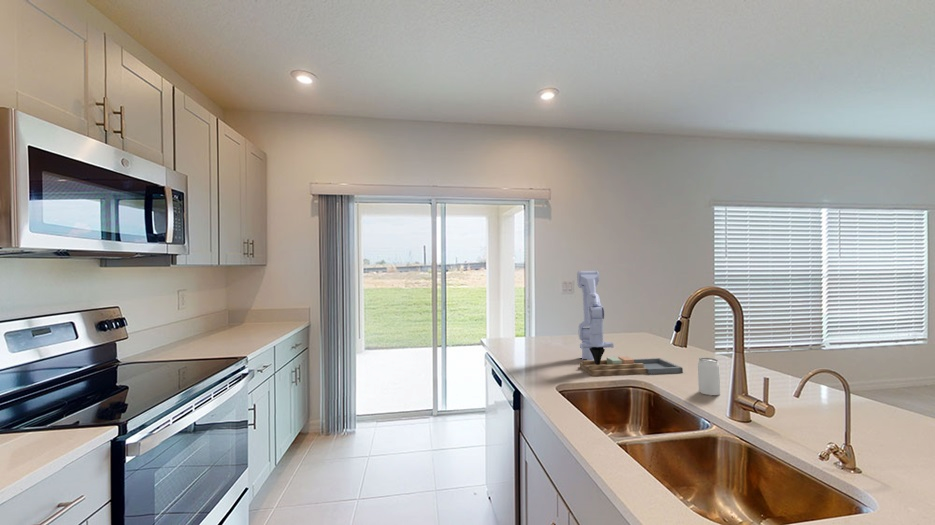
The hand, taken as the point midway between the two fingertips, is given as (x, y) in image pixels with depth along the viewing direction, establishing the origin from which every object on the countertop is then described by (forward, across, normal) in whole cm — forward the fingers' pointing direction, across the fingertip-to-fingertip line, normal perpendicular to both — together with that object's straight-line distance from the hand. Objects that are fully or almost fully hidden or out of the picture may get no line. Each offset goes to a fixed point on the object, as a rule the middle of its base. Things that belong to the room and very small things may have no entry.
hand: (597, 364), depth 161 cm
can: (+3, +27, -32) cm, 42 cm away
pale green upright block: (+1, +8, 0) cm, 8 cm away
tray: (+3, +26, 0) cm, 26 cm away
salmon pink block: (+1, +13, 0) cm, 13 cm away
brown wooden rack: (+3, +7, 0) cm, 7 cm away
